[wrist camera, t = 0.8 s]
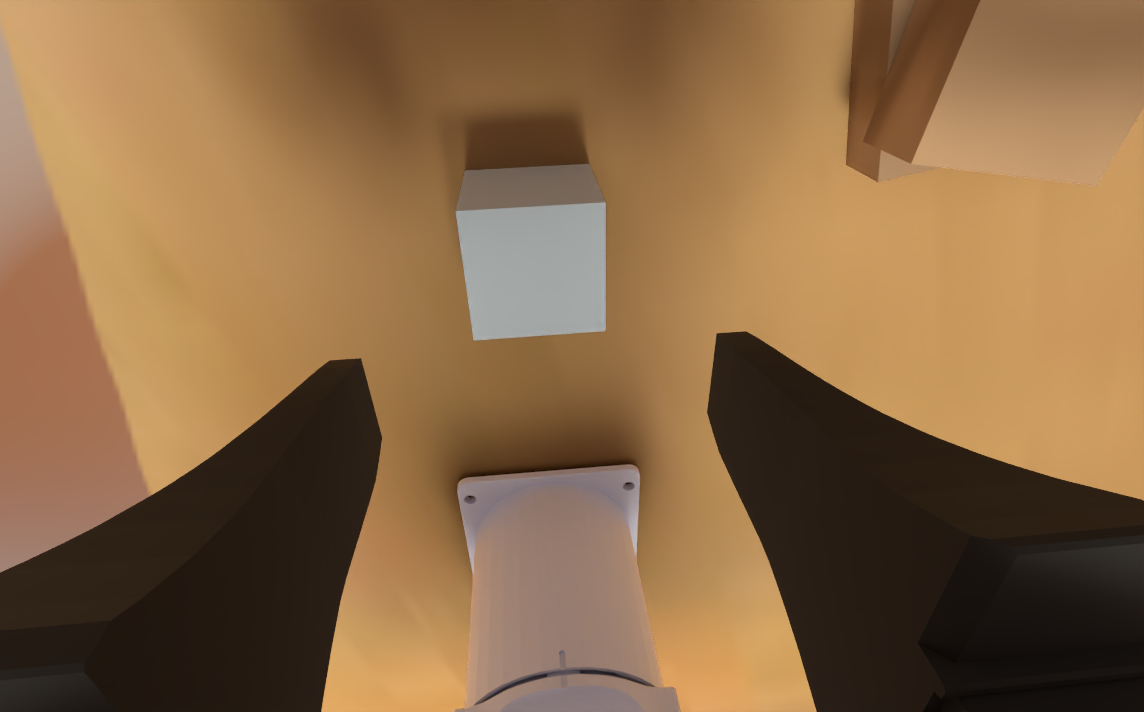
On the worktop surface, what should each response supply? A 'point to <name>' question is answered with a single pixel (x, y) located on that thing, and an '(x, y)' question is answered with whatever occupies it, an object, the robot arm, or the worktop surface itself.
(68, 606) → the robot arm
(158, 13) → the worktop surface
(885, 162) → the slab base
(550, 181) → the gray cube
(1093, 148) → the slab top
